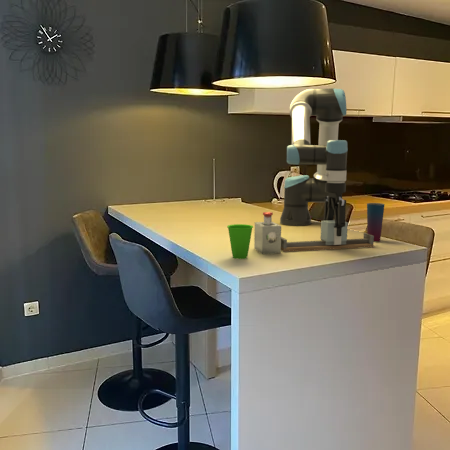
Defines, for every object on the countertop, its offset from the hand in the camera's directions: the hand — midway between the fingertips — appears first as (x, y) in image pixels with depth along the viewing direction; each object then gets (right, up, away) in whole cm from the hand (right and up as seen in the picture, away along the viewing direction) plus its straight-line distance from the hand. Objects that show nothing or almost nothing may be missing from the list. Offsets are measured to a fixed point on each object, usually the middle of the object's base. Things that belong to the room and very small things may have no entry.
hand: (333, 242), depth 190 cm
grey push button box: (-26, -3, -6) cm, 26 cm away
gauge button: (-26, +3, -7) cm, 27 cm away
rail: (-3, -2, 0) cm, 3 cm away
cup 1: (-36, -5, -16) cm, 40 cm away
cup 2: (+20, 0, +14) cm, 24 cm away
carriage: (0, 0, 0) cm, 0 cm away
